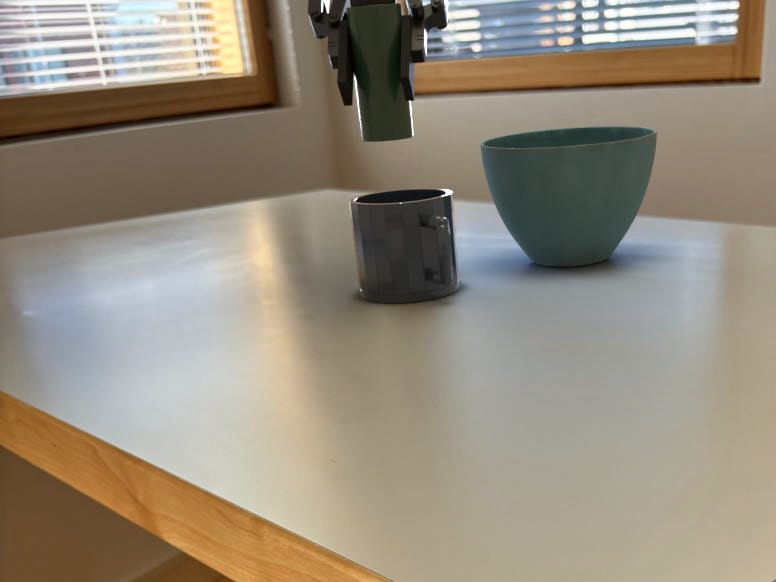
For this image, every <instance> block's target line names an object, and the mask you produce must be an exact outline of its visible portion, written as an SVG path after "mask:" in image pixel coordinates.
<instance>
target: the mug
mask: <svg viewBox="0 0 776 582" xmlns="http://www.w3.org/2000/svg"><path fill="white" fill-rule="evenodd" d="M453 196H454V195H453V191H452V190H450V189H445V188H436V187H435V188H434V187H422V188H421V187H420V188H419V187H418V188H417V187H416V188H414V187H413V188H402V189H390V190H382V191H375V192H369V193H365V194H360V195H357V196H354V197H351V198H350V199H349V200H348V208H349V209H348V210H349V214H350V216H349V217H350V224H351V231H352V239H353V248H354V255H355V264H356V271H357V273H356V274H357V279H358V287H359V291H360V292H359V293H360V296H361V299H363V300H365V301H367V302H372V303H379V304H407V303H418V302H426V301H431V300H435V299H439V298H443V297H447V296H450V295H452V294H454V293H456V292H457V291H458V290H459V288H460V282H459V279H460V276H459V275H460V274H459V263H458V249H457V237H456V236H457V235H456V224H455V222H456V221H455V209H454V208H455V207H454V197H453Z"/></svg>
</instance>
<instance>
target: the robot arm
mask: <svg viewBox="0 0 776 582" xmlns="http://www.w3.org/2000/svg"><path fill="white" fill-rule="evenodd" d="M404 1H405V4H406V7H407V11H408V14H402V28H401V72H400V78H401V83H402V87H403V92H404V96H405V100H406V101H410V102H414V101H415V76H416V75H415V74H416V64H422V63H425V62H426V60H427V55H428V53H427V52H428V33H429V32H430V31H431V30H432V29H437V30H445V29H446V28H447V27H448V25H449V0H430V3H427V4H425V5H424V2H423V0H404ZM348 7H351V4H350V0H332V1H331V4H330V0H308V2H307V15H308V18H309V21H310V25H311V28H312V31H313V34H314V37H315V38H316V39H318V40H322V39H325V38H327V49H326V50H327V51H326V53H327V57H328V59H329V63H330V65H331V68H332V70H337V75H336V84H337V88H338V90H339V94H340V97H341V100H342V103H343V106H344V107H350V106H353V103H354V102H353V101H354V100H353V99H354V79H355V78H354V70H353V61H352V53H351V44H350V36H349V27H348V18H347V10H346V8H348Z"/></svg>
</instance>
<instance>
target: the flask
mask: <svg viewBox="0 0 776 582" xmlns="http://www.w3.org/2000/svg"><path fill="white" fill-rule="evenodd" d="M350 4H351V7H348V8H346V10H347V18H348V27H349V36H350V44H351V53H352V61H353V70H354V78H353V79H354V86H355V94H356V102H357V103H356V104H357V112H358V120H359V128H360V137H361V138H360V139H361V142H364V143H365V142H366V143H378V142H391V141H400V140H406V139H411V138H413V137H415V136H414V125H413V124H414V123H413V116H412V115H413V114H412V103H411V101H406V100H405V96H404V92H403V87H402V83H401V78H400V72H401V28H402V15H403V8H402V3H401V2H397V0H350Z"/></svg>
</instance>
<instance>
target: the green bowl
mask: <svg viewBox="0 0 776 582" xmlns="http://www.w3.org/2000/svg"><path fill="white" fill-rule="evenodd" d="M657 137H658V131H657V130H656V129H655V128H651V127H643V126H629V125H627V126H626V125H604V126H603V125H602V126H580V127H579V126H578V127H576V126H575V127H564V128H554V129H553V128H552V129H542V130H533V131H525V132H524V131H523V132H518V133H512V134H505V135H502V136H501V135H500V136H497V137H492V138H488V139H485V140H484V141H482V142H480V144H479V145H480V154H481V160H482V167H483V170H484V174H485V179H486V183H487V186H488V189H489V192H490V195H491V198H492V201H493V203H494V205H495V208H496V210H497V212H498V214H499V217H500V218H501V220H502V222H503V224H504V225H505V228H506V229H507V232H508V233H509V234H510V235H511V237H512V239H514V241H515V242H516V244H517V245H518V246H519V248H521V250H522V251H523V253H525V255H526V256H527V258H528V259H530V260H531V261H532V262H533V263H534V264H536V265H539V266H545V267H552V268H553V267H554V268H556V267H557V268H565V267H566V268H568V267H580V266H587V265H594V264H597V263H601V262H604V261H606V260H607V259H609V258H610V257H611V255H612V254H613V253H614V252H615V250H616V249H617V248H618V247H619V245H620V244H621V242H622V240H623V239H624V238H625V236H626V234H627V233H628V231H629V230H630V228H631V226H632V225H633V223H634V221H635V219H636V217H637V215H638V213H639V210H640V208H641V206H642V204H643V201H644V198H645V196H646V192H647V189H648V186H649V183H650V179H651V176H652V171H653V166H654V162H655V156H656V149H657Z"/></svg>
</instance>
